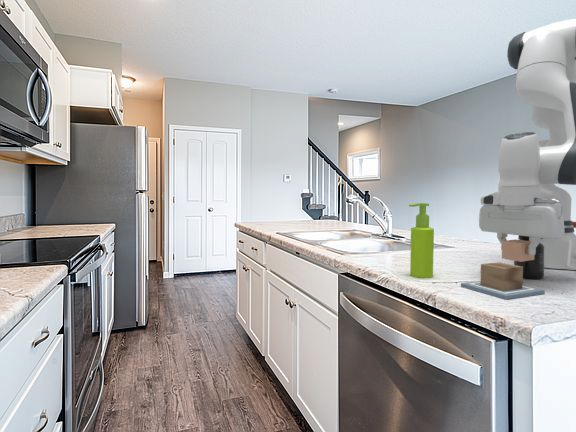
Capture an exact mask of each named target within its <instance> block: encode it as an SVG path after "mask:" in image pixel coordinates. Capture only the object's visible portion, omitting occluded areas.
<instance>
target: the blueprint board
mask: <svg viewBox="0 0 576 432" xmlns="http://www.w3.org/2000/svg"><path fill="white" fill-rule="evenodd" d="M480 282H481V280H477V281H468V282H462V283H460V287H461V288H465V289H468V290H472V291H475V292H479V293H482V294H486V295H489V296H492V297H495V298H499V299H503V300H506V301H507V300H512V299H513V300H514V299H520V298H527V297H534V296H539V295H540V296H541V295H545V293H546V291H545V289H542V288H541V289H540V288H536V287H532V286H528V285H523V284H522V289H515V290H508V291H501V290H498V289H494V288H490V287H486V286H483V285H480Z"/></svg>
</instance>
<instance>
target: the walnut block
mask: <svg viewBox="0 0 576 432" xmlns="http://www.w3.org/2000/svg"><path fill="white" fill-rule="evenodd" d="M523 279H524V278H523V267H522V266H516V265H514V264H510V263H507V262H506V263H505V262H500V261H499V262H489V263H481V264H480V281H481V282H480V285H483V286H486V287H490V288H494V289H498V290H501V291H508V290H515V289H522V285H523V281H524V280H523Z"/></svg>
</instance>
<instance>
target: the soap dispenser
mask: <svg viewBox="0 0 576 432" xmlns="http://www.w3.org/2000/svg"><path fill="white" fill-rule="evenodd" d="M408 206H409V207H412V208H413V207H417V206H419V207H418V208H419V209H418V210H419V211H418V212H419V213H418V214H417V215H415V227H414V226H413V227H411V228H410V263H409V264H410V268H409V269H410V272H409V273H410V277H413V278H417V279H418V278H419V279H429V278H430V279H431V278H433V277H434V250H435V249H434V244H435V243H434V239H435V238H434V237H435V232H434V230H435V229H434V228H433V227H430V215H428V214H427V207H428V206H429V207H430V204H429V203H423V202H415V203H410V204H408Z"/></svg>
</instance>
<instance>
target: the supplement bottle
mask: <svg viewBox="0 0 576 432" xmlns="http://www.w3.org/2000/svg"><path fill="white" fill-rule="evenodd" d="M517 240H524V241H529V236H520V235H518V237H517ZM513 265H516V266H522V267H523V279H527V280H542V279H543V278H544V277H545V268H544V246H543V244H541V243H539V244H538V246H537V247H536V254H535V255H534V260H529V261H523V262H519V261H513Z"/></svg>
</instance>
